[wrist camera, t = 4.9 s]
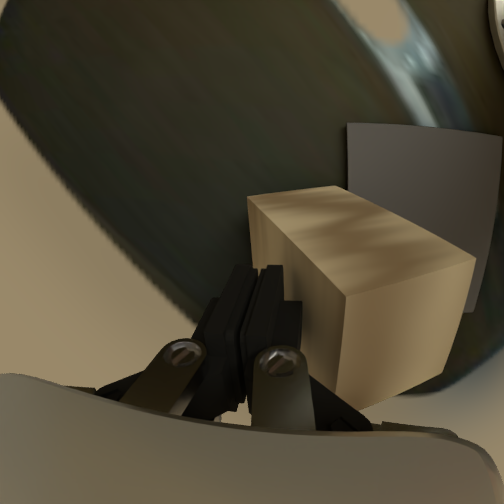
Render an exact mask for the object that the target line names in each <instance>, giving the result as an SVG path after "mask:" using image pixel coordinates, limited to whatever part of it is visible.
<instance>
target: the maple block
mask: <svg viewBox="0 0 504 504" xmlns="http://www.w3.org/2000/svg"><path fill="white" fill-rule="evenodd" d="M247 203H248V214H249V226H250V237H251V249H252V260H253V268H257V269H258V276H259V274H260V271H261V268H265V269H266V267H267V265H283V272H284V300H290V301H302V337H301V348H300V351H301V352H302V353H303V354H304V355H305V357H306V360H307V365H308V372H309V375H311V376H312V377H313V378H315V379H316V380H317V381H319V382H320V383H321V384H322V385H324V386H325V387H326V388H328V389H329V390H330V391H332V392H333V393H334V394H336V395H337V396H338V397H340V398H341V399H342V400H344V401H345V402H346V403H348V404H349V405H350V406H352V407H353V408H354V409H356V410H357V411H359V410H361V409H364V408H366V407H369V406H371V405H374V404H376V403H379V402H381V401H383V400H386V399H388V398H390V397H393V396H395V395H397V394H399V393H402V392H404V391H406V390H408V389H410V388H412V387H414V386H416V385H419V384H421V383H423V382H425V381H427V380H429V379H431V378H433V377H434V376H436V375H438V374H440V373H442V371H443V369H444V366H445V363H446V361H447V358H448V355H449V353H450V350H451V347H452V344H453V341H454V338H455V335H456V332H457V329H458V326H459V323H460V319H461V316H462V313H463V309H464V306H465V302H466V299H467V295H468V291H469V287H470V283H471V279H472V275H473V271H474V266H475V262H476V258H475V257H474V256H472V255H470V254H468V253H467V252H465V251H463V250H462V249H460V248H458V247H456V246H455V245H453V244H451V243H449V242H447V241H446V240H444V239H442V238H440V237H438V236H436V235H435V234H433V233H431V232H429V231H427V230H425V229H423V228H422V227H420V226H418V225H416V224H414V223H412V222H410V221H408V220H406V219H404V218H402V217H400V216H398V215H396V214H394V213H392V212H390V211H388V210H386V209H384V208H382V207H380V206H378V205H376V204H374V203H372V202H370V201H368V200H366V199H363V198H361V197H359V196H357V195H355V194H353V193H351V192H348V191H346V190H344V189H342V188H340V187H337V186H327V187H318V188H310V189H301V190H293V191H285V192H277V193H270V194H262V195H255V196H248V197H247Z"/></svg>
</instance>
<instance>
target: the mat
mask: <svg viewBox="0 0 504 504" xmlns="http://www.w3.org/2000/svg"><path fill="white" fill-rule="evenodd" d="M346 124H347V160H348V192H351V193H353V194H355V195H357V196H359V197H361V198H363V199H366V200H368V201H370V202H372V203H374V204H376V205H378V206H380V207H382V208H384V209H386V210H388V211H390V212H392V213H394V214H396V215H398V216H400V217H402V218H404V219H406V220H408V221H410V222H412V223H414V224H416V225H418V226H420V227H422V228H423V229H425V230H427V231H429V232H431V233H433V234H435V235H436V236H438V237H440V238H442V239H444V240H446V241H447V242H449V243H451V244H453V245H455V246H456V247H458V248H460V249H462V250H463V251H465V252H467V253H468V254H470V255H472V256H474V257H475V258H476V262H475V266H474V271H473V275H472V279H471V283H470V287H469V291H468V295H467V299H466V302H465V306H464V309H463V313H466V312H473V311H474V308H475V305H476V301H477V298H478V294H479V290H480V287H481V283H482V279H483V275H484V271H485V267H486V262H487V258H488V253H489V248H490V243H491V238H492V233H493V227H494V221H495V215H496V208H497V200H498V192H499V183H500V172H501V159H502V137H501V136H496V135H489V134H483V133H476V132H469V131H461V130H453V129H444V128H435V127H424V126H412V125H397V124H377V123H346Z"/></svg>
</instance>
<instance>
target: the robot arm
mask: <svg viewBox="0 0 504 504" xmlns="http://www.w3.org/2000/svg"><path fill="white" fill-rule="evenodd" d="M488 16H489V23H490V30H491V34H492V38H493V41H494V45H495V49H496V52H497V54H498V57H499V60H500V63H501V66H502V68H503V70H504V0H488ZM301 337H302V301H290V300H284V272H283V265H267V267H266V269H265V268H261V271H260V274H259V276H258V269H257V268H253V266H252V264H236V265H235V268H234V270H233V272H232V274H231V276H230V278H229V280H228V282H227V284H226V286H225V288H224V290H223V292H222V294H221V297H220V298H212V299H211V300H210V302H209V304H208V306H207V308H206V310H205V312H204V314H203V316H202V318H201V320H200V322H199V324H198V326H197V328H196V330H195V332H194V333H193V335H192V337H191V339H189V338H185V339H178V340H175V341H172V342H170V343H168V344H167V345H165V346H164V347H163V348H162V349H161V350H160V352H159V353H158V354H157V355H156V356H155V358H154V359H153V360H152V362H151V363H150V364H149V365H148V366H147V368H146V369H145V370H144V371H141V372H139V373H137V374H134V375H131V376H129V377H126V378H124V379H121V380H118V381H116V382H114V383H111V384H108V385H106V386H104V387H102V388H100V389H99V390H97V391H96V389H95V388H88V387H74V386H63V385H60V384H57V383H53V382H50V381H47V380H43V379H40V378H37V377H32V376H27V375H23V374H14V373H9V374H0V504H504V485H503V482H502V479H501V476H500V473H499V471H498V469H497V466H496V464H495V463H494V461H493V459H492V458H491V456H490V455H489V454H488V453H487V452H486V451H485V450H484V449H483V448H482V447H480V446H479V445H477V444H475V443H472V442H470V441H468V440H464V439H462V438H458V436H457V435H456V434H455V433H454V432H452V431H451V430H448V429H443V428H434V427H422V426H414V425H406V424H398V423H390V422H384V421H382V424H381V425H379V424H372V423H370V421H369V420H368V419H367V418H365V416H364V415H362V414H361V413H360V412H358V411H357V410H356V409H354V408H353V407H352V406H350V405H349V404H348V403H346V402H345V401H344V400H342V399H341V398H340V397H338V396H337V395H336V394H334V393H333V392H332V391H330V390H329V389H328V388H326V387H325V386H324V385H322V384H321V383H320V382H319V381H317V380H316V379H315V378H313V377H312V376H311V375H309V372H308V365H307V360H306V357H305V355H304V354H303V353H302V352H301V351H300V348H301ZM246 395H247V401H248V408H249V413H250V414H251V415H252V418H251V426H244V425H237V424H228V423H222V422H221V414H223V413H225V412H227V411H233V412H236V411H237V408H238V404H239V403H244V402H245V399H246Z"/></svg>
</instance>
